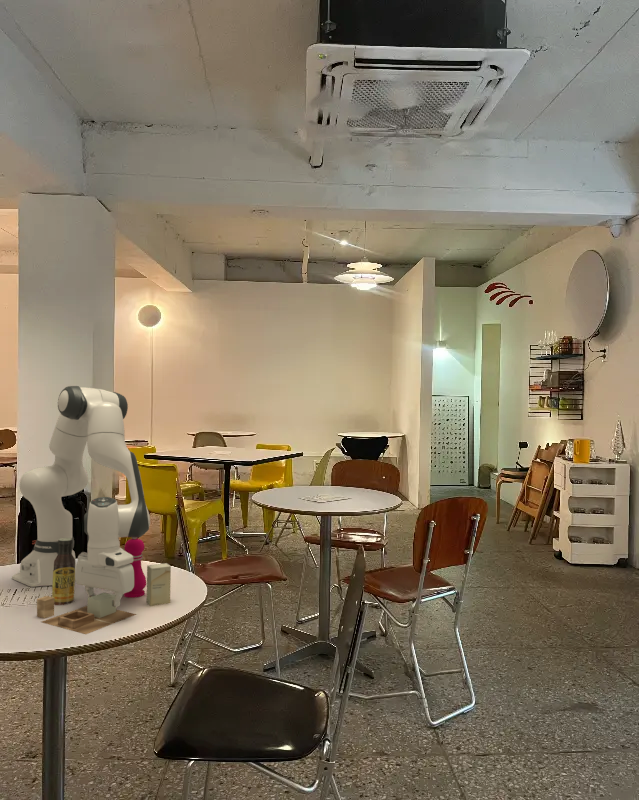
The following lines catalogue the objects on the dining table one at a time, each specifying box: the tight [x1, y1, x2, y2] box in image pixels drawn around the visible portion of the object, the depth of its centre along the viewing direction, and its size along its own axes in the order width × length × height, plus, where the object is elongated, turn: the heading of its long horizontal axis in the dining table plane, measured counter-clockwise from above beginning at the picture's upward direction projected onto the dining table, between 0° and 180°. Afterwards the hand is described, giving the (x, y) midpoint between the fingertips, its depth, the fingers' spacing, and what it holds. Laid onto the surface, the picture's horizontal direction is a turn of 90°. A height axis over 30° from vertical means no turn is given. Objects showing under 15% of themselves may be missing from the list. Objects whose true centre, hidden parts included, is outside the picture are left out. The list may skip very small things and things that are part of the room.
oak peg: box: [36, 595, 55, 620], centre depth 186 cm, size 3×3×6 cm
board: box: [41, 605, 137, 635], centre depth 185 cm, size 18×18×4 cm
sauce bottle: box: [51, 538, 76, 606], centre depth 199 cm, size 6×6×20 cm
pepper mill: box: [123, 537, 147, 599], centre depth 206 cm, size 7×7×20 cm
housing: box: [86, 592, 117, 618], centre depth 189 cm, size 5×6×5 cm
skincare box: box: [146, 562, 172, 607], centre depth 199 cm, size 6×4×12 cm
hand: (104, 603), depth 189 cm, fingers open, 8 cm apart
